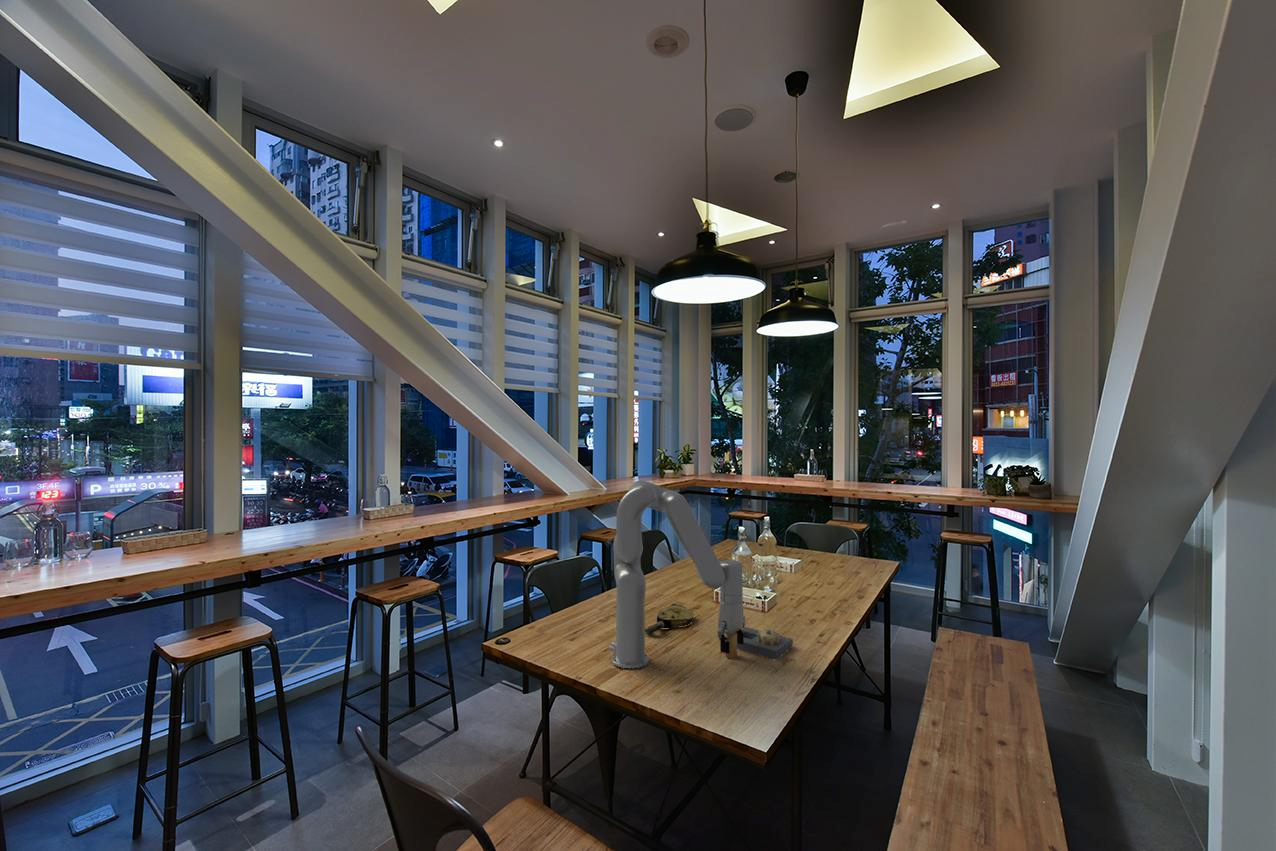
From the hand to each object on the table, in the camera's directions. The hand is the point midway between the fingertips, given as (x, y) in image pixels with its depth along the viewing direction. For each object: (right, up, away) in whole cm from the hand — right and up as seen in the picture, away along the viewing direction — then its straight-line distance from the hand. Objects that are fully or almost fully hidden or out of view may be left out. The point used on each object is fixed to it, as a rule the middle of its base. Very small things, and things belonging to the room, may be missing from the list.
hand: (732, 647), depth 183 cm
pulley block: (-20, -4, +30) cm, 36 cm away
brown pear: (0, -3, 0) cm, 3 cm away
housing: (+11, -3, +9) cm, 14 cm away
